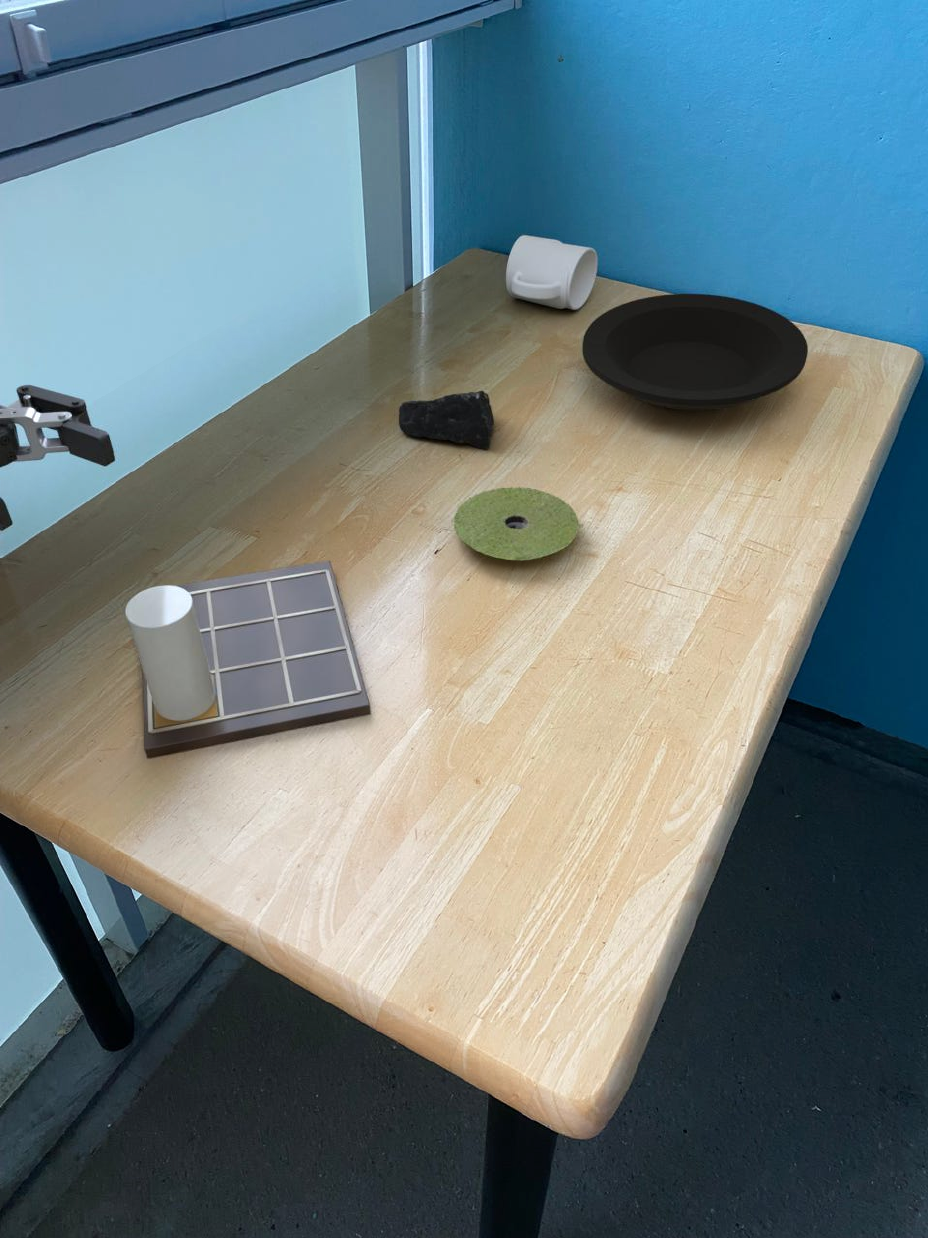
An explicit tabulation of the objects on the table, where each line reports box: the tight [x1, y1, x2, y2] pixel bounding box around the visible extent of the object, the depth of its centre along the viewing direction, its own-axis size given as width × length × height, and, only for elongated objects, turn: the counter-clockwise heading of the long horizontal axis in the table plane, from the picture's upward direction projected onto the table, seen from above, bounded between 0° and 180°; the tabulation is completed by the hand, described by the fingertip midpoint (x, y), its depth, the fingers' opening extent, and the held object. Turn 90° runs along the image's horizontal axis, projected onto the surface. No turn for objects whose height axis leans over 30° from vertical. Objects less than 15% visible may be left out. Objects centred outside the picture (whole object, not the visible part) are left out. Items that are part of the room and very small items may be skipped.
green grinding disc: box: [453, 486, 580, 561], centre depth 84 cm, size 11×11×2 cm
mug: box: [505, 234, 598, 311], centre depth 122 cm, size 12×9×8 cm
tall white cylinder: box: [124, 584, 216, 721], centre depth 65 cm, size 4×4×9 cm
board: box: [140, 560, 372, 759], centre depth 73 cm, size 16×18×1 cm
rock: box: [398, 390, 495, 451], centre depth 98 cm, size 7×10×6 cm
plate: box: [581, 293, 809, 411], centre depth 105 cm, size 28×24×6 cm
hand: (59, 481), depth 59 cm, fingers open, 8 cm apart
